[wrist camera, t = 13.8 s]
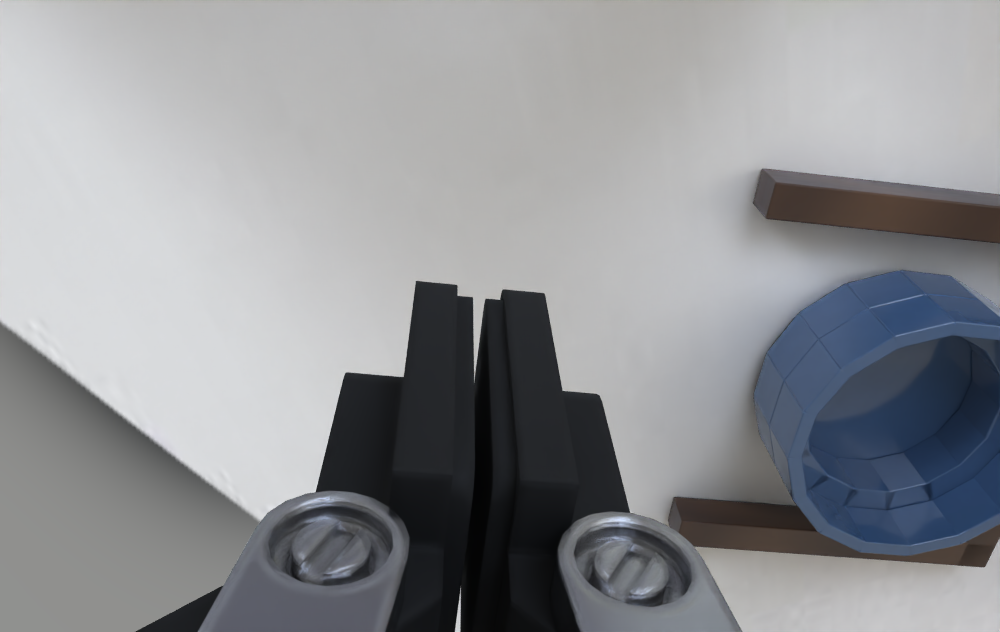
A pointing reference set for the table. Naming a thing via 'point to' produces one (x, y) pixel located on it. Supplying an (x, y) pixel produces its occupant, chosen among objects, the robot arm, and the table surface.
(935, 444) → the bowl
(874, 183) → the frame
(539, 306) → the robot arm
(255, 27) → the table surface
